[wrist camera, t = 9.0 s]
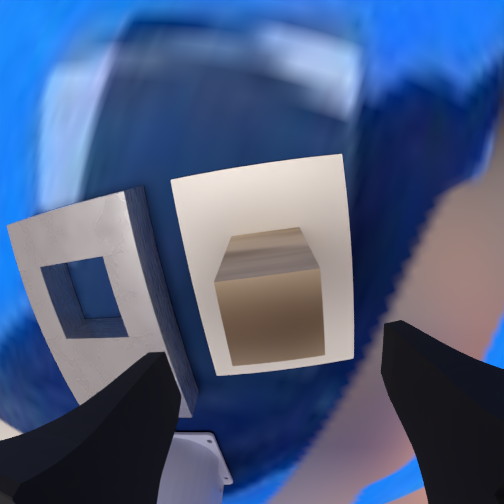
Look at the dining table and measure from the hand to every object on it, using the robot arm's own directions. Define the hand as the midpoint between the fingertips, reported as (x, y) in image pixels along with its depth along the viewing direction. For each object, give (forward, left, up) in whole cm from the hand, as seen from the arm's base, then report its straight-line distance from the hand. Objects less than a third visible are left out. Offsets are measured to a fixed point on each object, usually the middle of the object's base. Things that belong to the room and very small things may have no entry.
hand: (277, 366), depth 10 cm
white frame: (-2, +12, -10) cm, 16 cm away
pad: (-1, 0, -10) cm, 10 cm away
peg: (0, 0, -10) cm, 10 cm away
